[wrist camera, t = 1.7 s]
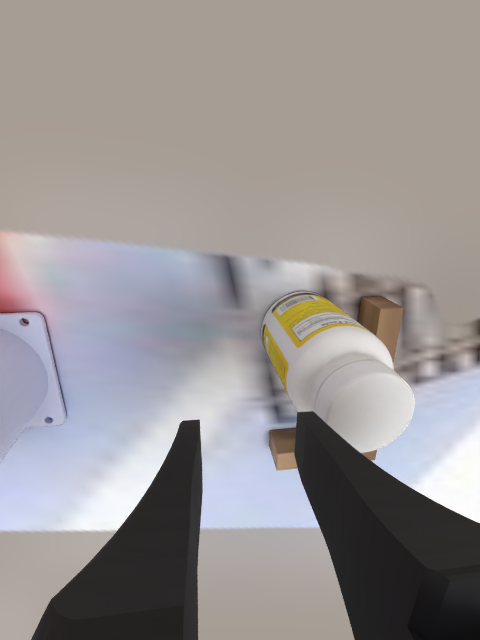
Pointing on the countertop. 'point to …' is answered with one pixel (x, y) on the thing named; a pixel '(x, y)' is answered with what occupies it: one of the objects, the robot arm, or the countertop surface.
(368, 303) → the wooden l-shaped block
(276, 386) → the countertop surface
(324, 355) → the supplement bottle
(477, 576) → the robot arm
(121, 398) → the countertop surface
